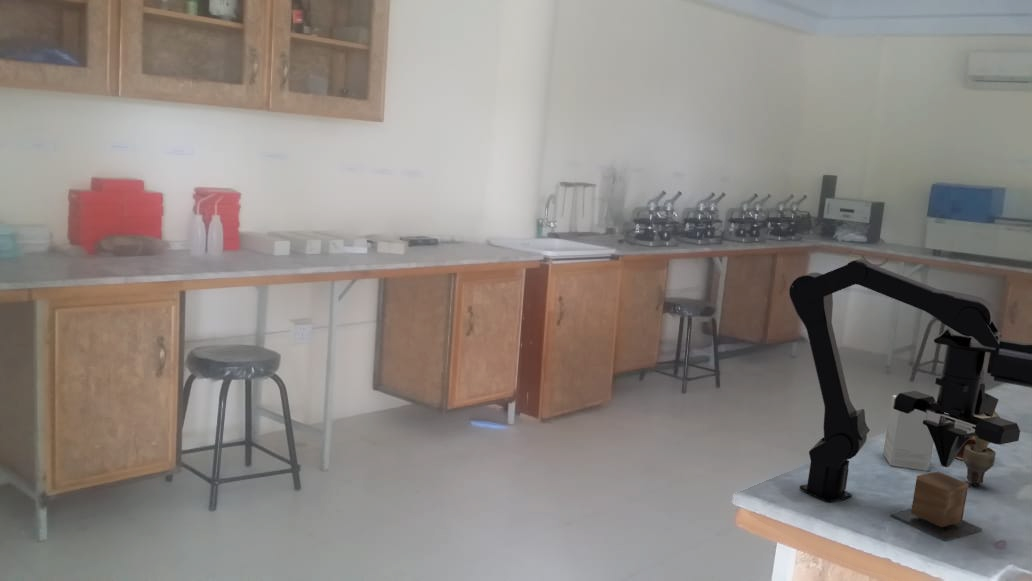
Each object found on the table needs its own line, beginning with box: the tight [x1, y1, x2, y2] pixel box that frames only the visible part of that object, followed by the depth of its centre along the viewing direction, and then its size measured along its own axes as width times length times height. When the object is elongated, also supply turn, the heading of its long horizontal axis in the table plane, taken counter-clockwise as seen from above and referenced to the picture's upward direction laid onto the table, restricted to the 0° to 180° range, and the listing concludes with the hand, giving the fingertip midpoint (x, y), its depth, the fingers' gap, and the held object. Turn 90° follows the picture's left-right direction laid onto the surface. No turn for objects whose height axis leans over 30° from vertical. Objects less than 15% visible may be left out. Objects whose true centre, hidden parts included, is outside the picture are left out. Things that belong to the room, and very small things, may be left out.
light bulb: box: [962, 410, 1001, 487], centre depth 166 cm, size 6×6×15 cm
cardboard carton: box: [910, 471, 970, 527], centre depth 147 cm, size 6×6×7 cm
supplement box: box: [882, 394, 934, 472], centre depth 176 cm, size 7×7×13 cm
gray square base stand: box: [889, 508, 983, 542], centre depth 147 cm, size 10×10×7 cm
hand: (945, 466), depth 146 cm, fingers closed
